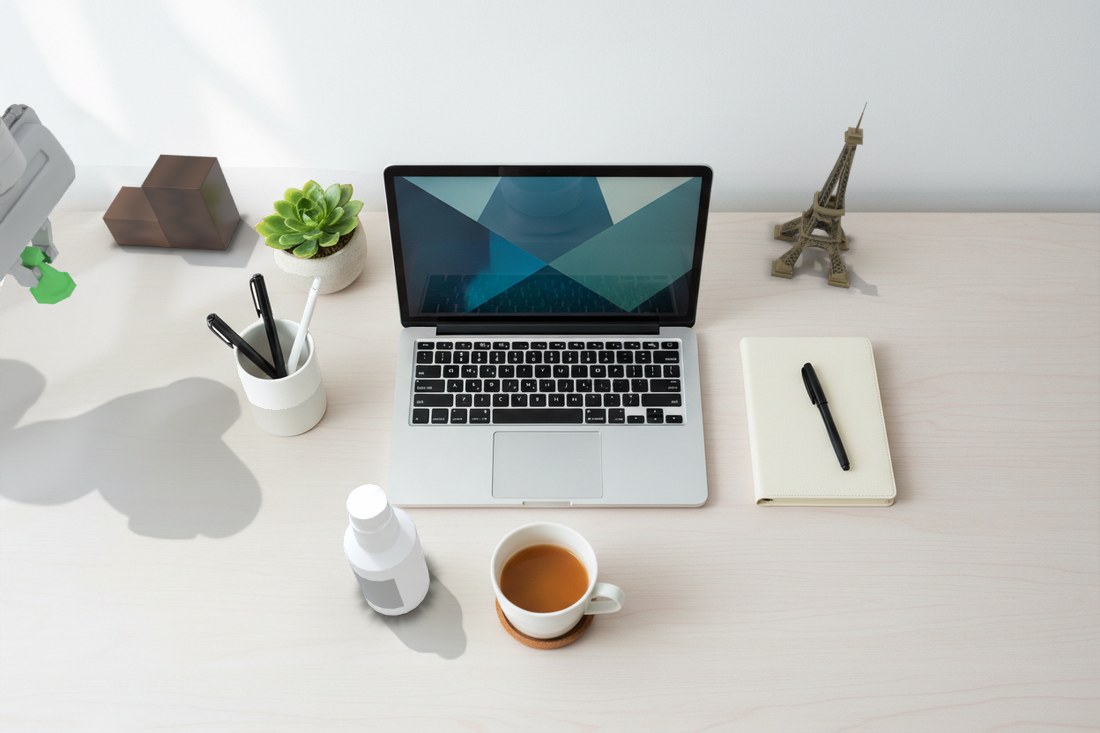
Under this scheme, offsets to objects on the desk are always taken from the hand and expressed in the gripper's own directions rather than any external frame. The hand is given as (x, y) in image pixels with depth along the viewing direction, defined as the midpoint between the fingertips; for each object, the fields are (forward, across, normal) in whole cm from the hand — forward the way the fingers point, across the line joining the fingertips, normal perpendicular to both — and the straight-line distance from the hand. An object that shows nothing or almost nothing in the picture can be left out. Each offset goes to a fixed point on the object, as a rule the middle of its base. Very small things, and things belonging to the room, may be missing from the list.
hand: (41, 270), depth 80 cm
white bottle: (+20, +22, +39) cm, 49 cm away
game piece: (+3, 0, 0) cm, 3 cm away
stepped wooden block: (+21, -29, -4) cm, 36 cm away
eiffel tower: (+20, -32, +88) cm, 96 cm away
